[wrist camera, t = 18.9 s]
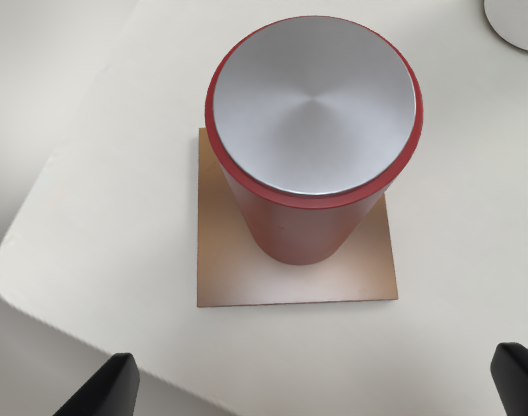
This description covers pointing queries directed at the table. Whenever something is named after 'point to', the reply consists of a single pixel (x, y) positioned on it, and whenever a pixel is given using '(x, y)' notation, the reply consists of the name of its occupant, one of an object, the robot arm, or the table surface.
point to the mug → (509, 20)
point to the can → (311, 130)
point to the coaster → (275, 272)
